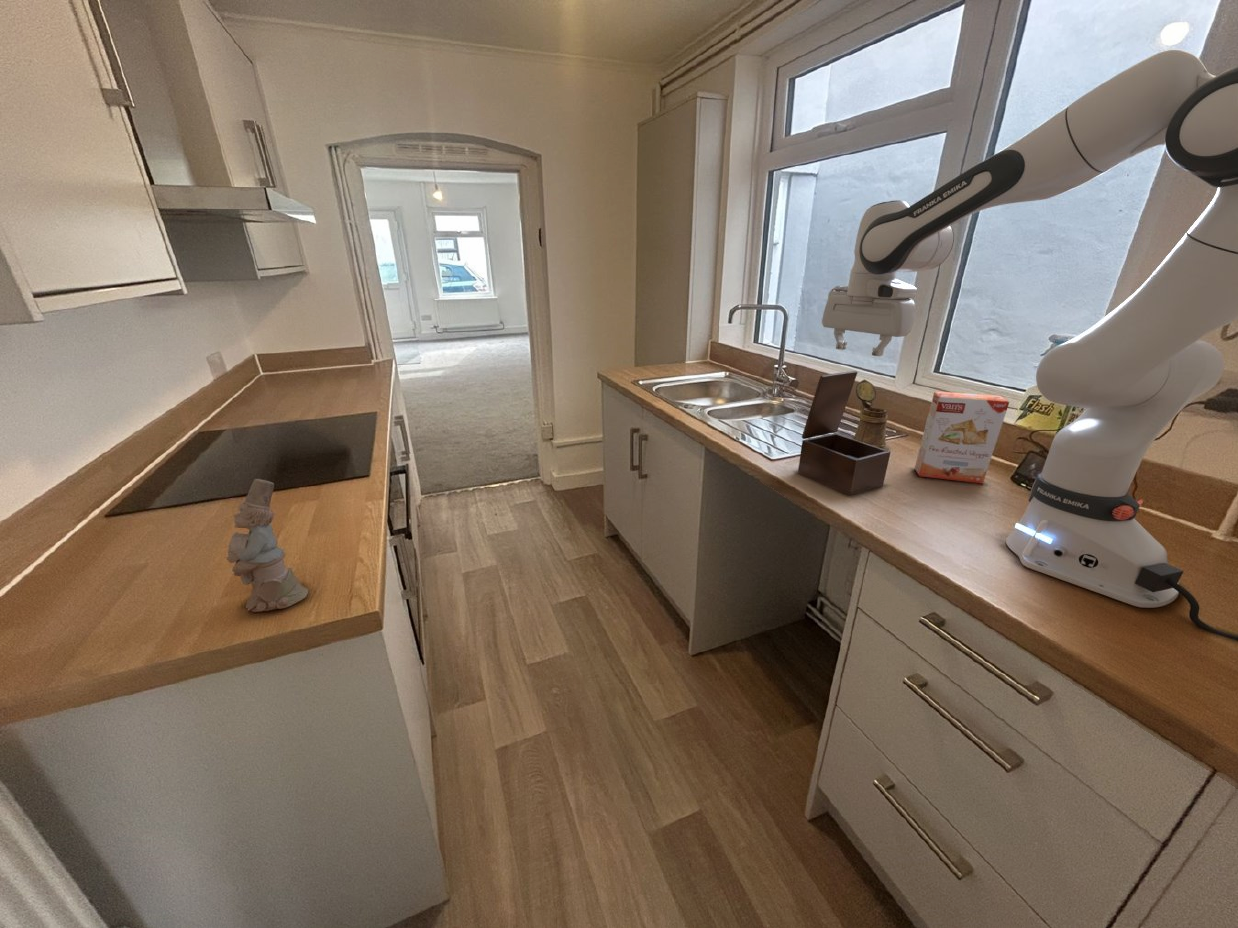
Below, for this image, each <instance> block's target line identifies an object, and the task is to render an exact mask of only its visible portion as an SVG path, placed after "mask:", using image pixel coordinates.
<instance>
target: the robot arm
mask: <svg viewBox="0 0 1238 928" xmlns="http://www.w3.org/2000/svg"><path fill="white" fill-rule="evenodd" d="M1160 146H1164V148H1165V151H1166V154H1167V156H1168V157H1169V158H1170V160H1171V161H1172V162H1173V163H1174V164H1175V165H1177V167H1179V168H1180V169H1182V170H1184V171H1185V172H1187V173H1189V174H1191V175H1193V176H1195V177H1196V178H1198V179H1200V180H1201V181H1203V182H1204V183H1206V184H1208V185H1210V186H1211V187H1214V188H1217V190H1216V192H1215V195H1214V196H1213V198H1212V200H1211V201H1210V203H1209V204H1208V205H1207V207H1206V208H1205V210H1203V212H1202V213H1201V214H1200V216H1199V217H1198V218H1197V220H1196V221H1195V222H1194V223H1193V224H1192V226H1190V228H1189V229H1188V230H1187V232H1185V234H1184V235H1183V236H1182V238H1180V240H1179V241H1178V242H1177V244H1176V245H1175V246H1174V247H1173V249H1171V251H1170V252H1169V253H1168V255H1166V257H1165V258H1164V259H1163V260H1162V262H1161V263H1160V264H1159V265H1158V266H1157V268H1156V269H1155V270H1154V271H1153V272H1152V273H1151V274H1150V276H1149V277H1148V278H1147V279H1146V280H1145V281H1144V283H1142V285H1141V286H1139V288H1138V289H1136V290H1135V291H1134V292H1133V293H1132V294H1131V295H1130V296H1129V297H1127V298H1126V299H1125V300H1124V301H1123V302H1121V303H1120V304H1119V305H1118V306H1116V308H1113V310H1112V311H1111V312H1109V313H1108V314H1107V315H1106V316H1104V317H1103V318H1101V319H1099V320H1098V322H1097V323H1095V324H1094V325H1092V326H1091V327H1089V328H1088V329H1087V330H1085V331H1084V332H1081V333H1080V334H1079V335H1077V336H1075V337H1073V338H1071V339H1069V340H1067V341H1066V342H1063V343H1061V344H1058V345H1056V346H1054V347H1052V348H1051V349H1050V350H1049V351H1047V352H1046V353H1045V355H1044V356H1043V357H1042V358H1041V359H1040V361H1039V364H1038V366H1037V368H1036V373H1035V381H1036V386H1037V389H1038V391H1039V393H1040V394H1041V395H1042V396H1043V397H1044V398H1045V399H1046V400H1047V401H1050V402H1051V403H1054V404H1059V405H1064V406H1069V407H1072V408H1073V407H1075V408H1080V409H1085V410H1084V411H1083V412H1082V413H1081V414H1080V415H1079V416H1078V417H1077V418H1076V419H1074V420H1073V421H1072V422H1071V423H1069V424H1067V425H1065V426H1064V427H1063V428H1061V429H1060V430H1059V431H1058V432H1057V433H1056V434H1055V435H1054V437H1053V439H1052V442H1051V445H1050V447H1049V451H1048V454H1047V456H1046V459H1045V462H1044V464H1043V467H1042V470H1041V473H1037V476H1036V479H1035V480H1034V482H1033V484H1032V486H1031V489H1030V493H1029V498H1028V502H1029V503H1028V505H1027V507H1026V509H1025V511H1024V512H1023V515H1022V516H1021V518H1020V519H1019V522H1017V523H1015V526H1014V528H1013V530H1012V531H1011V533H1010V534H1009V535H1008V536H1007V537H1006V538H1005V543H1006V546H1007V547H1008V549H1010V551H1012V552H1013V553H1014V554H1015V555H1016V556H1017V557H1018V558H1019V561H1020V563H1021V564H1022V565H1023V566H1024V567H1025V568H1027V569H1030V570H1033V571H1036V572H1039V573H1042V574H1044V575H1047V576H1050V577H1052V578H1056V579H1058V580H1061V581H1064V582H1067V583H1069V584H1072V585H1074V586H1078V587H1080V588H1083V589H1086V590H1089V591H1092V592H1093V593H1094V592H1095V593H1097V594H1100V595H1102V596H1106V597H1108V598H1111V599H1114V600H1117V601H1120V602H1121V603H1124V604H1128V605H1131V606H1133V607H1138V608H1142V609H1143V608H1144V609H1151V608H1154V609H1155V608H1160V607H1164V606H1167V605H1169V604H1171V603H1172V602H1174V601H1175V600H1176V599H1177V598H1178V596H1179V595H1181V596H1182V597H1183V598H1185V600H1186V601H1187V602H1188V604H1189V614H1188V616H1189V619H1190V621H1191V622H1192V623H1193V624H1194V625H1195V626H1197V627H1198V628H1200V629H1202V630H1204V631H1207V632H1209V633H1212V634H1216V635H1219V636H1223V637H1225V638H1228V639H1231V640H1234V641H1238V635H1236V634H1232V633H1228V632H1224V631H1221V630H1218V629H1216V628H1213V627H1212V626H1210V625H1208V624H1206V623H1205V622H1204V621H1203V620H1201V619H1200V617H1199V612H1200V605H1199V603H1198V600H1197V599H1196V598H1195V596H1194V595H1193V594H1192V593H1191V592H1190V591H1188V590H1187V589H1186V588H1184V587H1183V586H1182V585H1181V584H1180V583H1179V581H1180V579H1181V577H1182V576H1183V573H1184V570H1182V569H1181V568H1177V567H1176V566H1174V565H1171V564H1168V559H1169V557H1168V553H1167V549H1166V548H1165V547H1164V546H1163V545H1162V544H1161V543H1160V542H1159V541H1158V540H1157V539H1155V537H1154V536H1152V534H1151V533H1150V532H1148V530H1147V529H1145V528H1144V527H1143V526H1142V524H1140V522H1138V520H1136V519H1135V517H1137V514H1138V512H1139V510H1140V508H1141V507H1142V504H1143V503H1144V500H1143V499H1140V500H1138V501H1137V500H1136V499H1135V498H1134V497H1133V495H1131V494H1130V493H1129V489H1130V488H1131V487H1130V486H1131V484H1132V482H1133V480H1134V478H1135V476H1136V473H1137V472H1138V470H1139V467H1140V465H1141V464H1142V461H1143V459H1144V457H1145V455H1146V454H1147V452H1148V451H1149V448H1150V447H1151V446H1152V444H1153V443H1154V442H1155V441H1156V439H1157V438H1158V437H1159V435H1160V434H1161V433H1162V432H1163V431H1164V430H1165V428H1166V427H1167V426H1168V425H1169V424H1170V423H1171V422H1172V420H1174V418H1175V417H1176V416H1177V415H1178V414H1179V413H1180V412H1181V411H1182V410H1183V409H1184V408H1186V406H1188V404H1190V403H1191V402H1193V401H1194V400H1195V399H1197V398H1198V397H1200V396H1202V395H1204V394H1205V393H1208V391H1210V390H1211V389H1213V388H1214V387H1215V386H1216V385H1217V384H1218V382H1219V381H1220V379H1221V378H1222V376H1223V373H1224V371H1225V360H1224V357H1223V354H1222V353H1221V351H1220V350H1219V349H1218V348H1217V347H1216V346H1215V345H1213V344H1211V343H1209V342H1207V341H1204V340H1201V339H1202V338H1203V337H1205V336H1207V335H1208V334H1210V333H1212V332H1215V331H1216V330H1218V329H1222V328H1223V327H1225V326H1227V325H1230V324H1231V323H1234V322H1235V321H1237V320H1238V65H1236V66H1233V67H1231V68H1228V69H1226V70H1224V71H1222V72H1220V73H1218V74H1216V75H1213V74H1212V73H1210V72H1209V71H1208V70H1207V68H1206V67H1205V65H1204V63H1203V61H1201V59H1200V58H1199V57H1197V56H1196V55H1195V54H1193V53H1191V52H1190V51H1186V50H1183V49H1178V48H1175V49H1172V48H1171V49H1167V50H1163V51H1160V52H1159V51H1158V52H1157V53H1155V54H1153V55H1150V56H1149V57H1147V58H1145V59H1143V60H1141V61H1139V62H1138V63H1135V64H1133V65H1132V66H1129V67H1128V68H1126V69H1124V70H1123V71H1120V72H1119V73H1117V74H1115V75H1114V76H1112V77H1111V78H1109V79H1108V80H1105V81H1103V82H1102V83H1100V84H1099V85H1097V86H1096V87H1094V88H1093V89H1091V90H1090V91H1088V92H1087V93H1084V94H1083V95H1082V96H1081V97H1079V98H1077V99H1076V100H1074V101H1073V102H1071V103H1070V104H1069V105H1067V106H1065V107H1064V108H1063V109H1062V110H1060V111H1059V112H1058V113H1055V114H1054V115H1053V116H1051V117H1050V118H1049V119H1047V120H1045V121H1044V122H1043V123H1041V124H1040V125H1038V126H1037V127H1035V128H1034V129H1033V130H1031V131H1029V132H1028V133H1027V134H1024V135H1023V136H1022V137H1020V138H1018V139H1017V140H1015V141H1014V142H1012V143H1011V144H1009V145H1007V146H1006V147H1004V148H1002V149H1001V150H999V151H997V152H996V153H994V154H993V155H991V156H990V157H987V158H986V159H984V160H983V161H981V162H980V163H978V164H976V165H974V166H973V167H970V168H969V169H968V170H967V169H966V171H964V172H963V173H960V174H959V175H957V176H956V177H954V178H952V179H951V180H950V181H948V182H946V183H944V184H943V185H942V186H940V187H939V188H937V189H935V190H933V191H932V192H931V193H929V194H927V195H925V196H924V197H923V198H921V199H919V200H918V201H916V202H915V203H913V204H912V205H911V204H910V205H909V204H908V203H907V202H906V201H904V200H890V201H889V200H888V201H883V202H879V203H876V204H874V205H871V206H870V207H869V208H867V209H866V210H865V212H864V213H863V214H862V215H863V216H862V217H861V220H860V223H859V227H858V229H857V235H856V239H855V244H854V250H853V251H854V253H853V254H854V262H853V265H852V268H851V270H850V273H849V279H848V286H847V285H846V286H841V285H836V286H835V287H833V288H832V289H831V290H830V291H829V292H828V295H827V301H826V303H825V306H824V310H823V314H822V318H821V324H822V326H823V328H826V329H827V328H828V329H833V336H834V339H835V341H836V342H835V349H836V350H840V351H844V350H846V349H847V345H848V341H845V337H844V334H845V333H846V331H849V332H850V331H851V332H857V333H865V334H872V335H877V336H878V335H879V338H878V340H879V341H880V342H879V343H878V345H877V346H874V347H872V351H871V355H872V356H875V357H883V355H884V351H885V348H886V347H888V345H889V343H891V341H892V339H893V337H894V338H900V337H907V336H908V335H909V334H910V333H911V332H912V329H913V324H914V319H915V312H916V304H915V302H914V300H913V299H914V298H915V297H916V296H917V293H918V289H917V287H915V286H914V285H912V284H910V283H907V282H904V281H903V280H899V278H897V274H898V273H911V272H917V273H918V272H924V271H929V270H932V269H935V268H937V267H939V266H940V265H942V263H944V262H945V261H946V259H947V258H948V257H949V256H950V253H951V251H952V249H953V246H954V241H955V234H954V229H953V227H952V226H953V225H954V224H956V223H958V222H960V221H962V220H964V219H965V218H967V217H969V216H971V215H973V214H975V213H976V214H977V212H980V211H983V210H986V209H991V208H994V207H999V206H1004V205H1010V204H1016V203H1026V202H1035V201H1036V202H1037V201H1043V200H1048V199H1052V198H1054V197H1057V196H1059V195H1062V194H1064V193H1066V192H1069V191H1071V190H1074V189H1076V188H1078V187H1081V186H1083V185H1084V184H1086V183H1089V182H1090V181H1093V180H1094V179H1096V178H1097V177H1100V176H1101V175H1103V174H1105V173H1107V172H1109V171H1110V170H1111V169H1114V168H1115V167H1117V166H1118V165H1120V164H1122V163H1124V162H1125V161H1127V160H1130V159H1131V158H1133V157H1134V156H1136V155H1137V156H1138V155H1139V154H1141V153H1143V152H1145V151H1147V150H1149V149H1152V148H1156V147H1160Z"/></svg>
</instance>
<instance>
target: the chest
mask: <svg viewBox="0 0 1238 928" xmlns="http://www.w3.org/2000/svg"><path fill="white" fill-rule="evenodd" d="M847 455H850V456H853V457H855V458H857V459H855V458H852V457H849V456H847ZM890 456H891V451H890V450H887V449H885V450H884V449H882V448H879V447H876V446H873V445H870V444H867V443H864V442H861V441H858V440H855V439H853V437H850V436H846V435H842V434H840V433H837V432H834V433H830V434H825V435H820V436H816V437H811V438H807V439H803V440H802V441H801V448H800V454H799V462H798V469H797V473H798V474H800V475H802V476H804V477H807V478H809V479H811V480H814V481H815V482H818V483H820V484H822V485H825V486H827V487H829V488H831V489H834V490H835V491H837V492H840V493H842V494H844V495H846V496H853V495H857V494H860V493H863V492H867V491H869V490H873V489H877V488H879V487H883V486H884V484H885V479H886V475H887V470H888V465H889V461H890Z"/></svg>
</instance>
